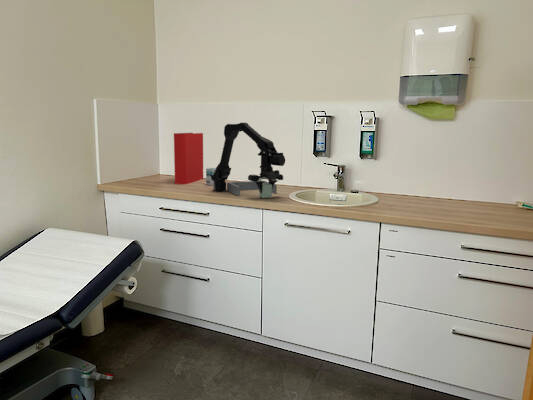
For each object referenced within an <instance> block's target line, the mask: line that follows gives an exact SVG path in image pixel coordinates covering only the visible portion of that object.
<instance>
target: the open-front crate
mask: <svg viewBox="0 0 533 400" xmlns="http://www.w3.org/2000/svg"><path fill="white" fill-rule="evenodd" d="M262 181H263V182H262V184H263V183H269V181H268V180H267V181H266V180H262ZM277 189H278V188H277V184H276V183H275V184H274V186H273V188H272V193H273V194H277ZM255 190H259V189H258V186H257V184H256V182H254V181H250V180H245V181H230V182H229V181H228V182H226V192H229V193H232V194H234V195H235V196H238V197H239V196H241V191H255Z"/></svg>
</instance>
